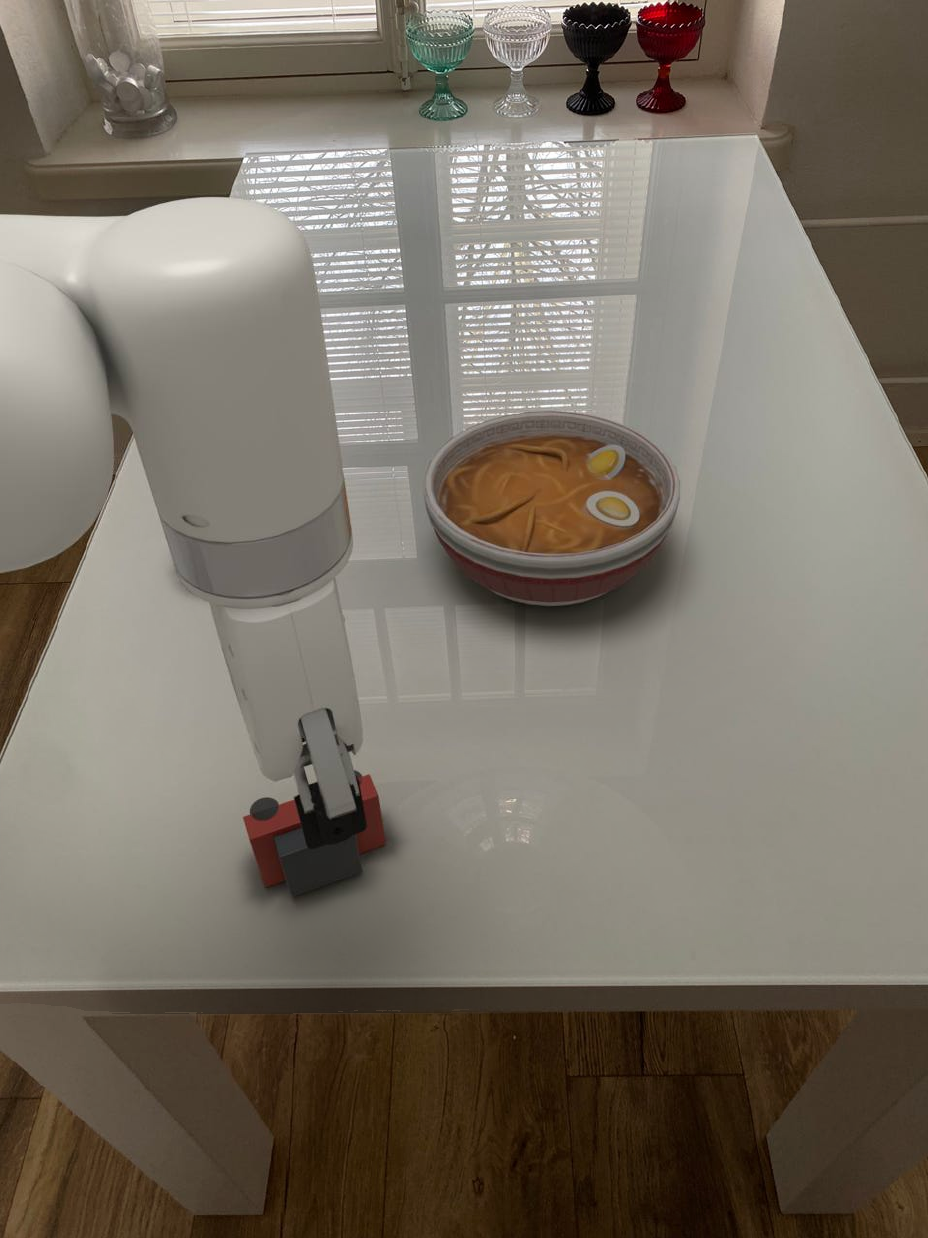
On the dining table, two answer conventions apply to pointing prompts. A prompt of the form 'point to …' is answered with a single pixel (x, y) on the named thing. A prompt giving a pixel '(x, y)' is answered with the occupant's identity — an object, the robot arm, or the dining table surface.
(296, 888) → the toy car
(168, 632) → the dining table surface
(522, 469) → the bowl
